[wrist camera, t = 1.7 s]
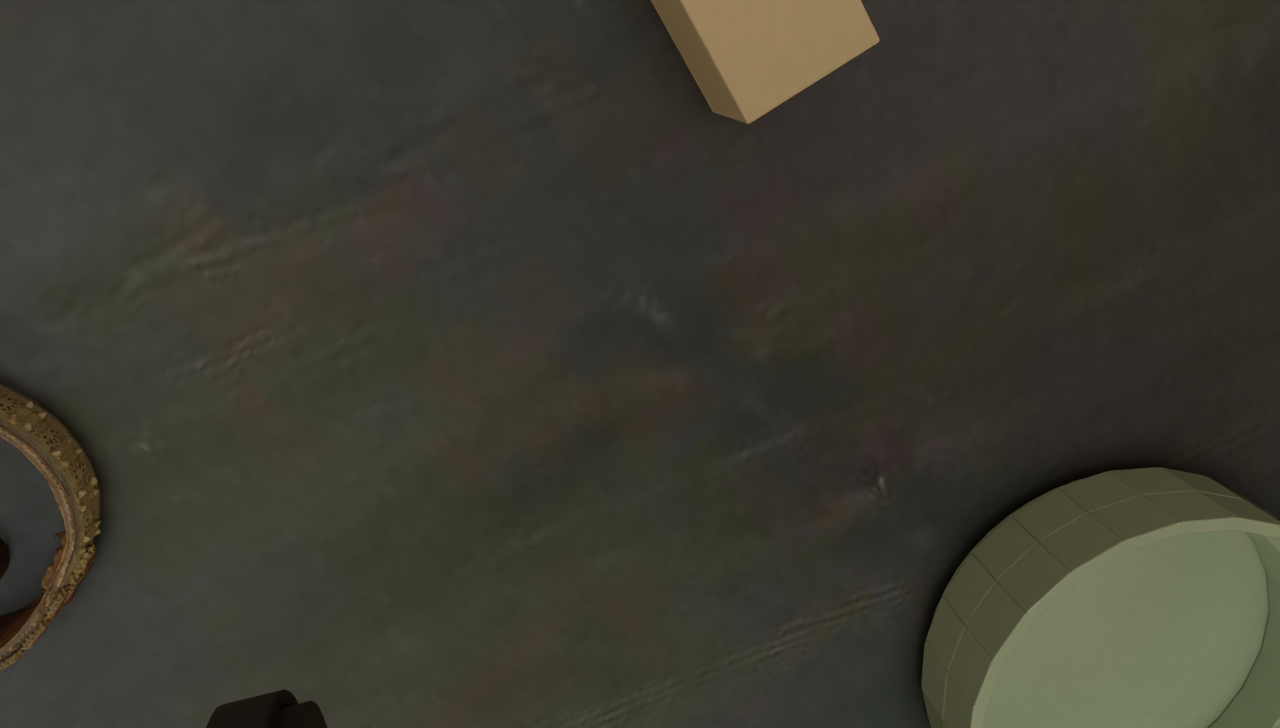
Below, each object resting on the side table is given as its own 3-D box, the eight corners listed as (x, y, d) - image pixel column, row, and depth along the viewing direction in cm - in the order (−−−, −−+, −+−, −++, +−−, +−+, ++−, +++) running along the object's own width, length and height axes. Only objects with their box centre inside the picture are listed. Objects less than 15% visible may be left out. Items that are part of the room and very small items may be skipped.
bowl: (1204, 387, 30) (1303, 435, 27) (1321, 670, 35) (1420, 747, 31) (850, 597, 31) (897, 673, 27) (1006, 850, 35) (1066, 946, 32)
